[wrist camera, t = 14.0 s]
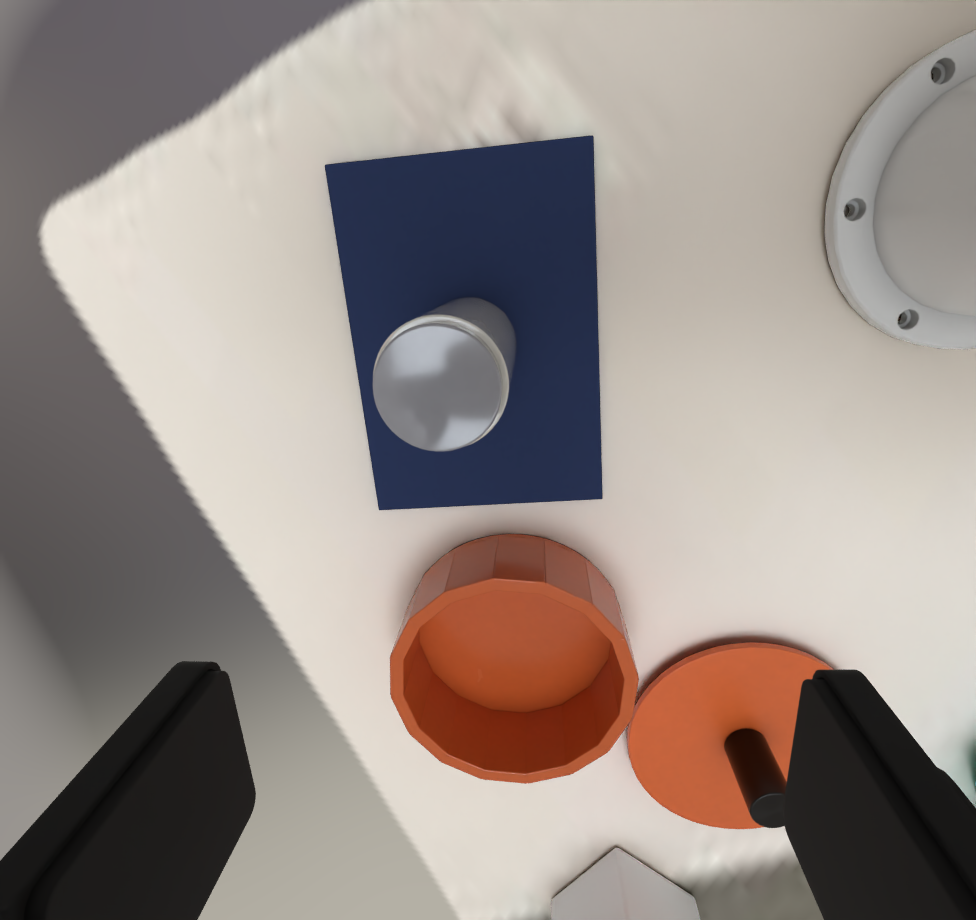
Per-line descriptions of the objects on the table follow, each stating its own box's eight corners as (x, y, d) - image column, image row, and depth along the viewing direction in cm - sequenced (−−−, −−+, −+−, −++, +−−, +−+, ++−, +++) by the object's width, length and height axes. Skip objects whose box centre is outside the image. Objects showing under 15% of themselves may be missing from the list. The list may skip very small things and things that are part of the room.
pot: (461, 497, 31) (448, 538, 27) (663, 590, 32) (685, 645, 28) (378, 665, 35) (355, 726, 31) (560, 744, 36) (564, 814, 32)
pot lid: (701, 599, 32) (733, 663, 27) (906, 693, 33) (974, 773, 28) (586, 762, 37) (595, 845, 32) (770, 842, 38) (808, 934, 33)
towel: (327, 165, 27) (324, 164, 26) (592, 136, 25) (593, 135, 25) (380, 507, 32) (378, 510, 32) (601, 496, 31) (602, 499, 30)
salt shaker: (445, 280, 28) (397, 291, 18) (532, 323, 28) (532, 356, 18) (408, 367, 29) (345, 421, 19) (492, 407, 29) (471, 480, 20)
